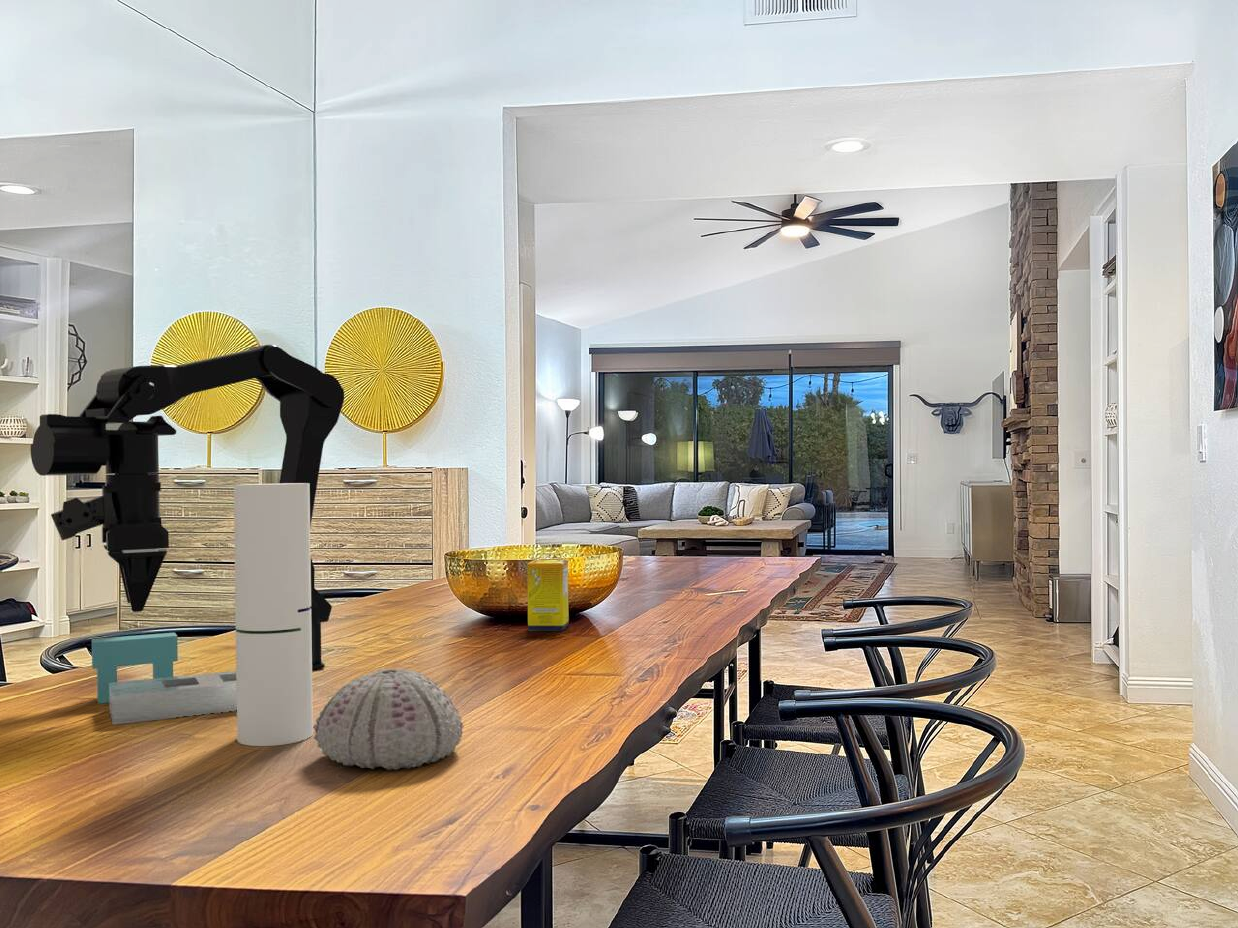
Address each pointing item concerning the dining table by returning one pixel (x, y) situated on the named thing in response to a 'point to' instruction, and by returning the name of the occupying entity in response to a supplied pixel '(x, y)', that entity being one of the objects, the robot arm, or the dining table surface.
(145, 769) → the dining table surface
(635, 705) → the dining table surface
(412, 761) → the sea urchin shell
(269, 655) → the cylindrical container
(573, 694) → the dining table surface
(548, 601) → the supplement box
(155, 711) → the rail
